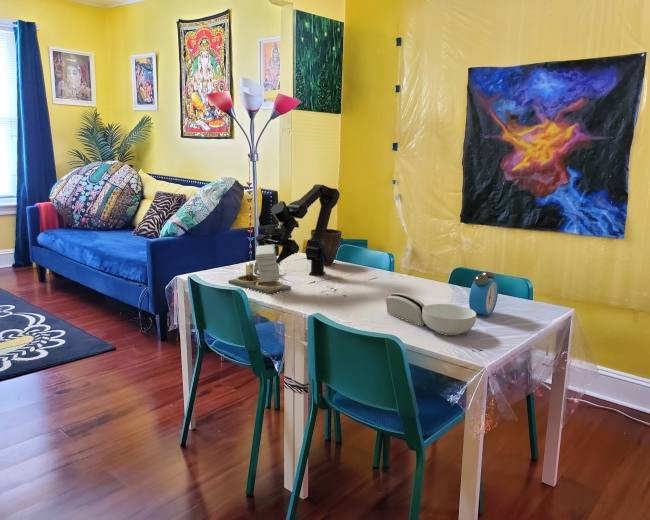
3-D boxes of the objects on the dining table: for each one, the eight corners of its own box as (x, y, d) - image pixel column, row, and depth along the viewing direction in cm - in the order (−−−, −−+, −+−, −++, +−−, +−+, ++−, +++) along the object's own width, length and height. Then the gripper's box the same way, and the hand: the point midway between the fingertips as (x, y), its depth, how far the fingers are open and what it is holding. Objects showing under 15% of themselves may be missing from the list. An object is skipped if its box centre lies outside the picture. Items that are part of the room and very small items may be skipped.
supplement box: (261, 273, 224) (256, 245, 218) (279, 271, 224) (275, 243, 218) (260, 282, 217) (255, 254, 211) (279, 280, 217) (274, 252, 211)
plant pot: (329, 259, 279) (330, 227, 276) (346, 265, 267) (347, 232, 264) (304, 262, 271) (304, 229, 268) (320, 268, 259) (321, 234, 256)
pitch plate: (228, 283, 228) (228, 263, 226) (250, 278, 237) (250, 259, 235) (269, 294, 213) (269, 274, 211) (291, 289, 222) (291, 269, 220)
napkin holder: (432, 324, 185) (428, 298, 181) (423, 331, 182) (418, 305, 178) (397, 311, 198) (391, 286, 194) (387, 317, 195) (382, 293, 191)
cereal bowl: (485, 334, 176) (487, 313, 174) (449, 344, 167) (451, 322, 165) (445, 320, 189) (447, 300, 188) (410, 328, 180) (411, 307, 178)
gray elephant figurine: (249, 274, 245) (249, 257, 243) (269, 268, 254) (268, 252, 252) (264, 278, 239) (264, 261, 237) (283, 272, 248) (283, 255, 246)
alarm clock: (483, 320, 190) (487, 277, 187) (466, 316, 194) (470, 274, 191) (496, 311, 201) (500, 271, 197) (480, 308, 204) (483, 268, 201)
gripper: (258, 214, 223) (239, 245, 217) (295, 219, 213) (276, 252, 207) (271, 231, 232) (253, 261, 225) (307, 236, 221) (289, 268, 215)
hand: (267, 260), depth 218 cm, fingers closed on supplement box, 9 cm apart
